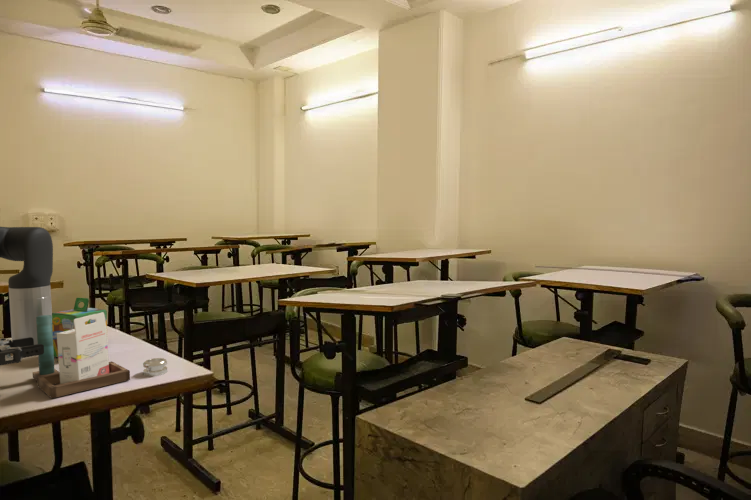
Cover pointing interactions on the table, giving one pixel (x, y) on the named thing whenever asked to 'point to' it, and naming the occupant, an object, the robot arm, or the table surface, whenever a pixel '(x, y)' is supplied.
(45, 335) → the wooden display tray
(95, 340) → the ink cartridge box
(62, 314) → the chalk box
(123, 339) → the table surface
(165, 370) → the metal grooved wheel
